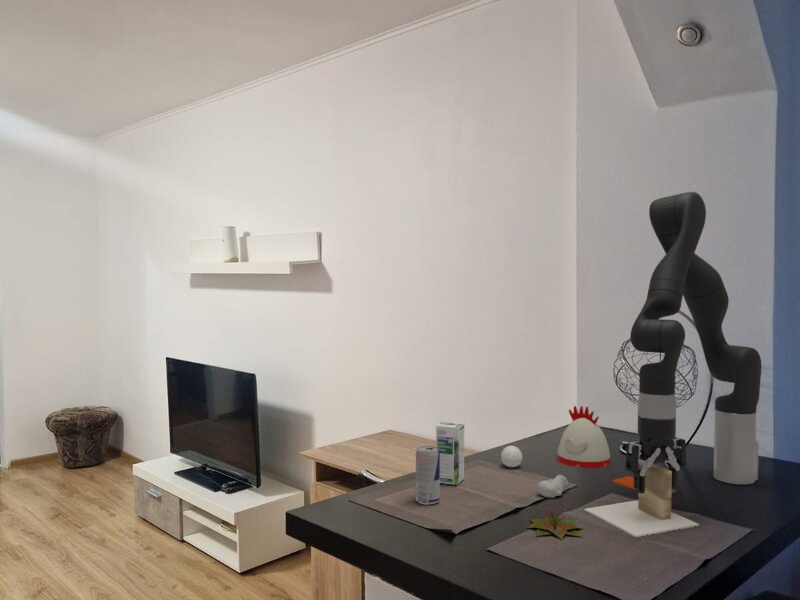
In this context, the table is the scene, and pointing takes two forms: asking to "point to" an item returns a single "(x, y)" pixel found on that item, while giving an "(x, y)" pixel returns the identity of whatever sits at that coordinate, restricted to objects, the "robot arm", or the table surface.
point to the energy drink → (428, 474)
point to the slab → (656, 493)
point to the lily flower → (555, 525)
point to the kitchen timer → (583, 442)
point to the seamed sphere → (511, 456)
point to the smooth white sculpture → (553, 486)
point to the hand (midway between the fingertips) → (655, 489)
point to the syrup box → (451, 451)
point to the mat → (638, 519)
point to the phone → (629, 483)
